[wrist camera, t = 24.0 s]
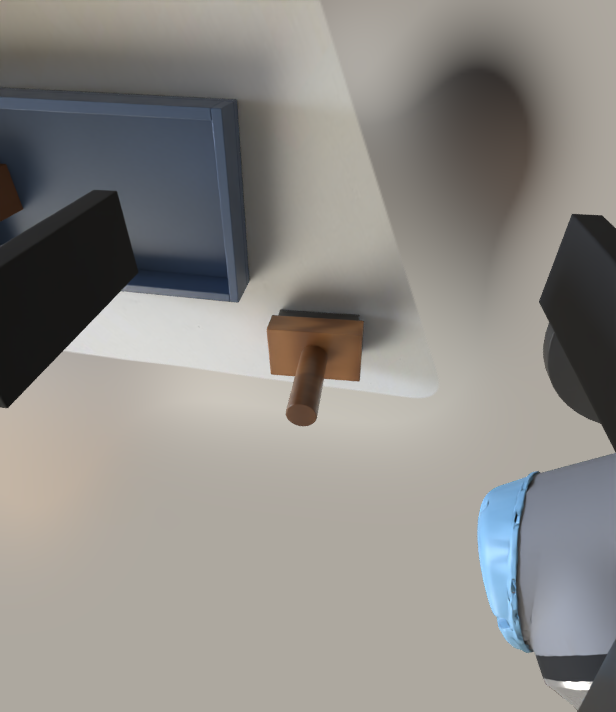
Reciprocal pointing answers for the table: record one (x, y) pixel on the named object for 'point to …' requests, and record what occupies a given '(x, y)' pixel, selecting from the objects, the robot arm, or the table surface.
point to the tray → (137, 179)
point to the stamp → (313, 355)
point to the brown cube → (8, 195)
